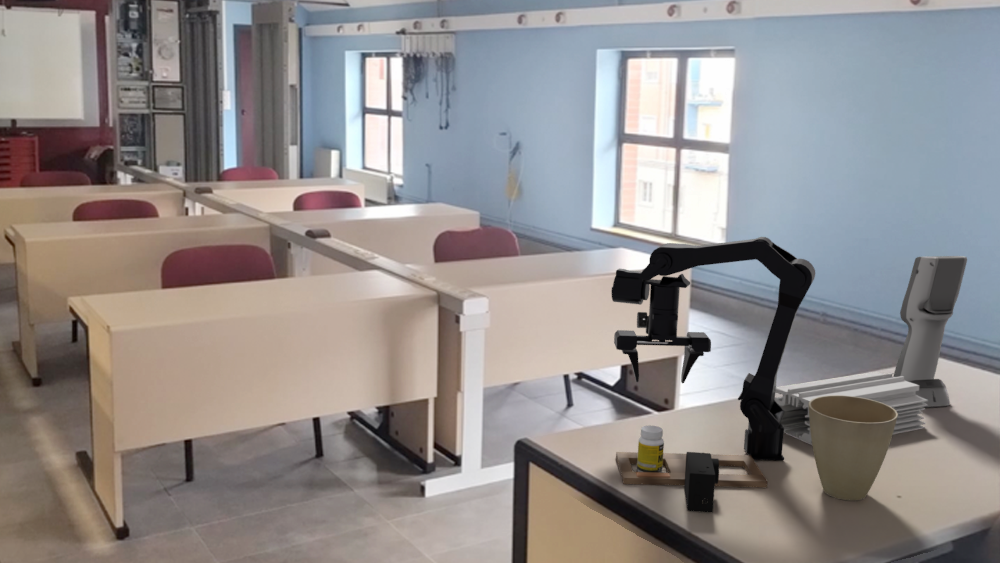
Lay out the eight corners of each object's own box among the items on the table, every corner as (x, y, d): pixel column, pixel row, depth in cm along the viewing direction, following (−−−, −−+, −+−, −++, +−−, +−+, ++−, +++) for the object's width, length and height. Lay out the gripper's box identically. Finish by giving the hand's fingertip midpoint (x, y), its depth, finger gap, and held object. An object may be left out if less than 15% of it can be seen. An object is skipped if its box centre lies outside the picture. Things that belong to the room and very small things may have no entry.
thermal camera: (912, 409, 229) (929, 257, 222) (879, 392, 241) (894, 248, 235) (957, 406, 232) (974, 257, 225) (922, 390, 244) (938, 247, 237)
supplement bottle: (661, 477, 186) (664, 434, 184) (635, 475, 186) (638, 431, 185) (662, 468, 190) (665, 425, 189) (637, 465, 191) (639, 423, 189)
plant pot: (784, 482, 185) (791, 399, 181) (849, 473, 190) (857, 392, 187) (838, 515, 171) (847, 425, 168) (907, 504, 176) (917, 417, 173)
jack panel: (750, 461, 195) (750, 454, 194) (767, 487, 182) (767, 480, 182) (615, 457, 195) (616, 450, 194) (623, 484, 182) (623, 476, 182)
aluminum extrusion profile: (924, 429, 217) (929, 384, 215) (819, 450, 202) (824, 402, 201) (872, 410, 229) (876, 367, 227) (770, 428, 215) (774, 383, 213)
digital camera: (719, 514, 170) (722, 475, 169) (687, 511, 171) (689, 472, 170) (714, 490, 181) (717, 453, 179) (684, 487, 181) (686, 451, 180)
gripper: (703, 299, 208) (698, 372, 211) (613, 297, 209) (609, 369, 212) (713, 311, 198) (708, 387, 201) (618, 309, 198) (615, 385, 201)
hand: (659, 382), depth 204 cm, fingers open, 9 cm apart
